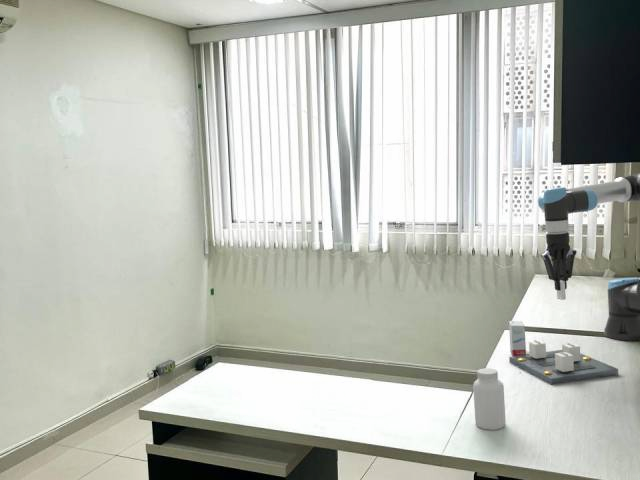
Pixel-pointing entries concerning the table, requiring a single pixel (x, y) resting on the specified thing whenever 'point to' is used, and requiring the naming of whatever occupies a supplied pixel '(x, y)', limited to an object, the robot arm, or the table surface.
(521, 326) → the ink box
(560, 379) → the switch unit
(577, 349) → the slider
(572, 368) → the slider
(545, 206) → the robot arm
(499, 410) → the pill bottle
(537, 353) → the slider
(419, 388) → the table surface
